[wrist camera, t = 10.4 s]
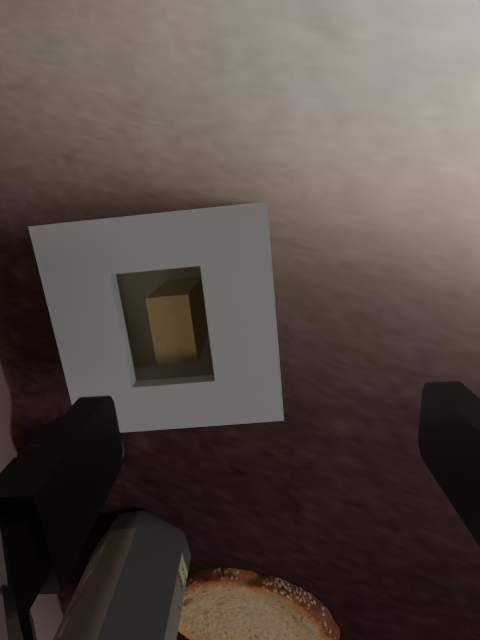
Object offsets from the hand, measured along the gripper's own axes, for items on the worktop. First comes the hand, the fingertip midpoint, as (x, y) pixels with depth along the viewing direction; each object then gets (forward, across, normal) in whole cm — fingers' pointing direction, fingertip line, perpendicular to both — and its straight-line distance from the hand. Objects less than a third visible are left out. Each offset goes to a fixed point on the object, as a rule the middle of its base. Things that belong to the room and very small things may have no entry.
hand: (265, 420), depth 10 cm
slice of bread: (+24, +2, +42) cm, 48 cm away
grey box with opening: (+25, +6, +2) cm, 25 cm away
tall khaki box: (+24, +6, +3) cm, 25 cm away
